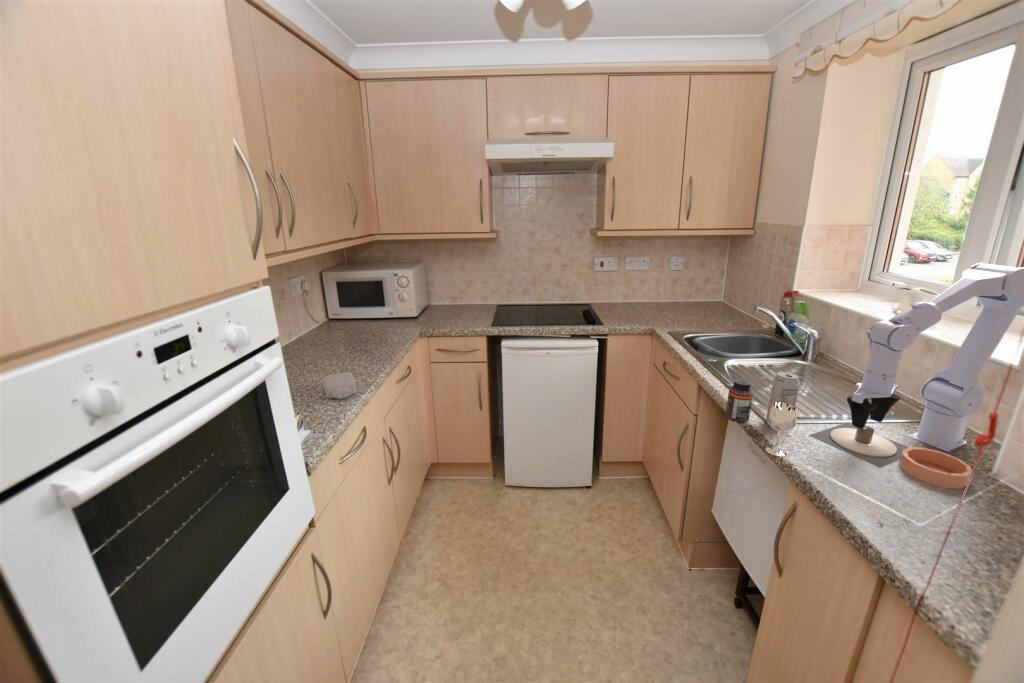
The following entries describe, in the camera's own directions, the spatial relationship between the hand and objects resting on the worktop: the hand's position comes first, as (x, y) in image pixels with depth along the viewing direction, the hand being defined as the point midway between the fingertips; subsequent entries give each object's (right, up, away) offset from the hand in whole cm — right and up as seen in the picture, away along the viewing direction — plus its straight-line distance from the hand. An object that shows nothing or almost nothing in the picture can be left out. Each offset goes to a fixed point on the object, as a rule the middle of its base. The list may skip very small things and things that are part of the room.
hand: (866, 423), depth 107 cm
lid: (0, -5, +2) cm, 5 cm away
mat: (0, -6, +2) cm, 6 cm away
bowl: (+6, -9, -10) cm, 15 cm away
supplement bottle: (-24, -2, +16) cm, 29 cm away
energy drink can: (-15, -3, +11) cm, 19 cm away
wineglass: (-23, -7, -1) cm, 24 cm away
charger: (-142, +3, +35) cm, 147 cm away
